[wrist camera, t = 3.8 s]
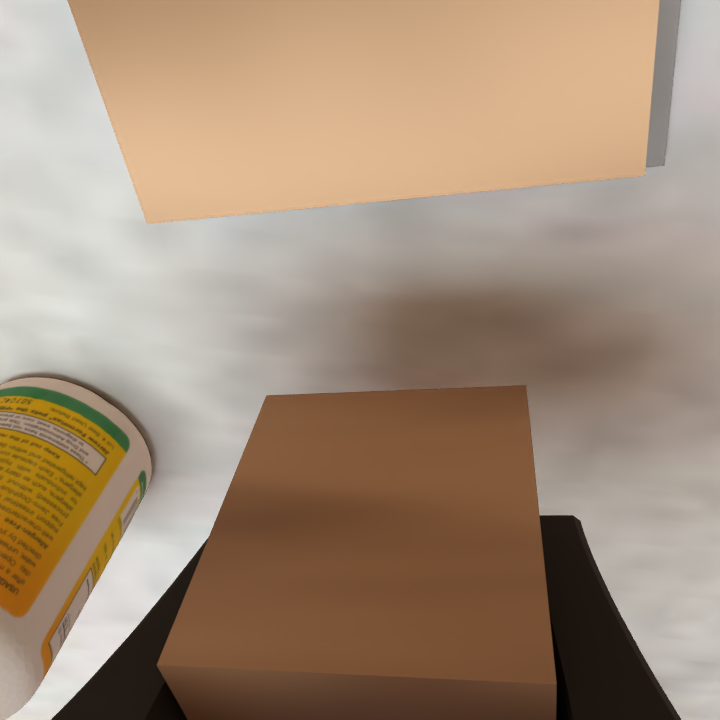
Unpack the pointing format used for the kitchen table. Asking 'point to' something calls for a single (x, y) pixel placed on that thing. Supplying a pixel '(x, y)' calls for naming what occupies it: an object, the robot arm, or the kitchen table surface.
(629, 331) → the kitchen table surface
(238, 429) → the kitchen table surface
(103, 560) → the supplement bottle
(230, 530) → the walnut block
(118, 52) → the oak brick
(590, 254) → the kitchen table surface
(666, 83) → the baseplate
